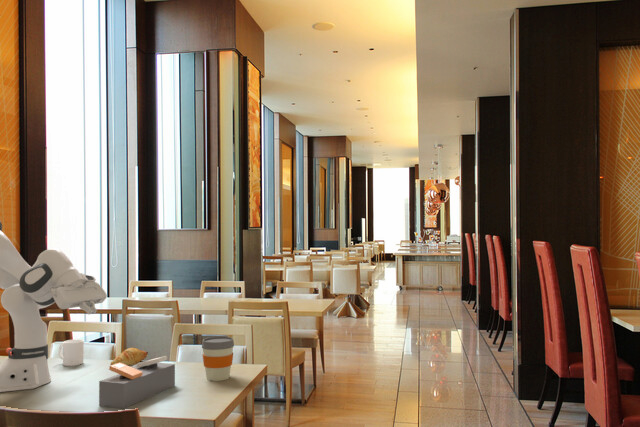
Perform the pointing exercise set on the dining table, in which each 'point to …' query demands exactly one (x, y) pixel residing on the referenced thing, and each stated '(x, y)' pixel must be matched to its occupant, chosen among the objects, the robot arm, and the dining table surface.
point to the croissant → (130, 357)
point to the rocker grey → (151, 361)
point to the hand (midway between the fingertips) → (92, 312)
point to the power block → (136, 385)
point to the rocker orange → (125, 371)
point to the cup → (72, 352)
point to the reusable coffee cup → (217, 357)
